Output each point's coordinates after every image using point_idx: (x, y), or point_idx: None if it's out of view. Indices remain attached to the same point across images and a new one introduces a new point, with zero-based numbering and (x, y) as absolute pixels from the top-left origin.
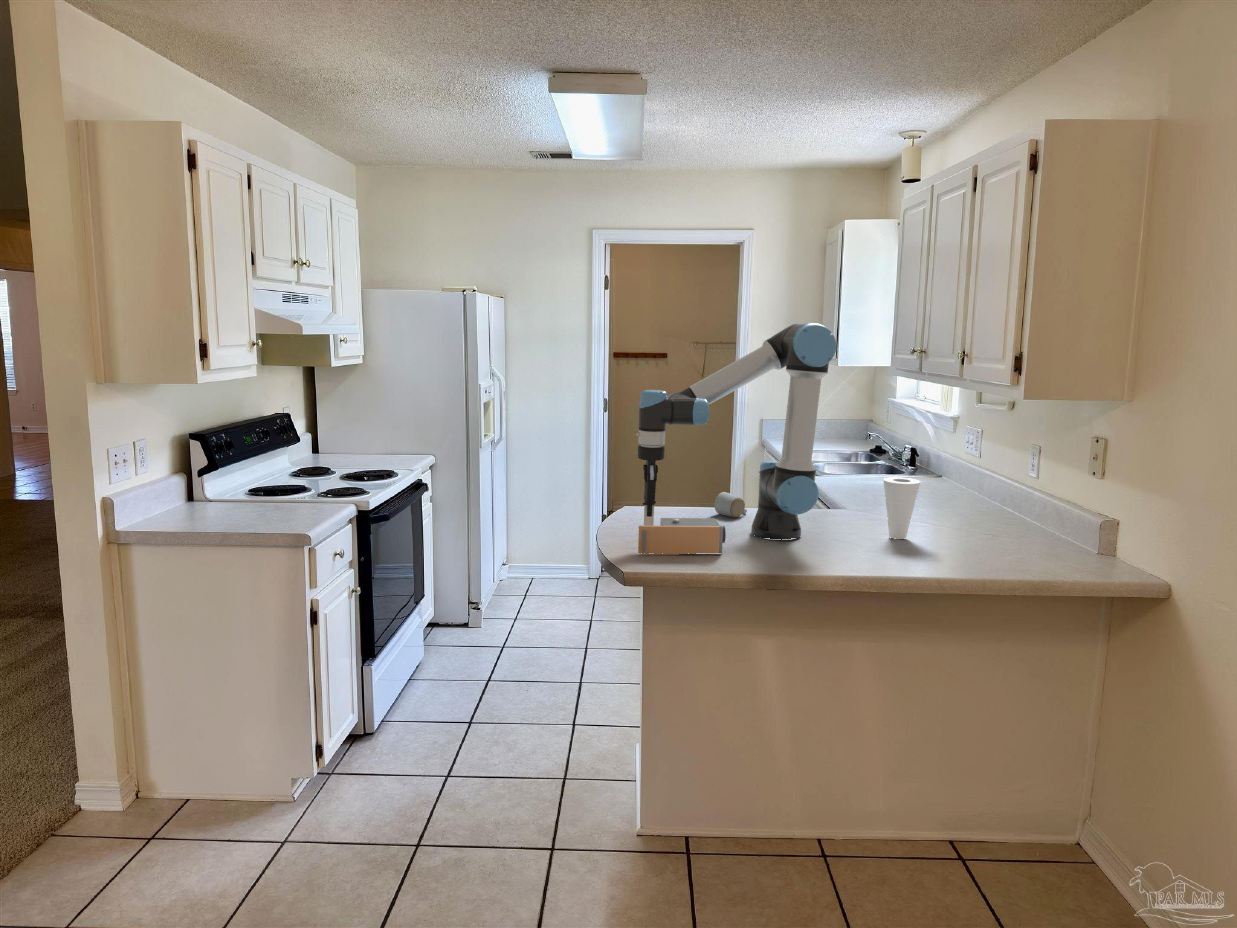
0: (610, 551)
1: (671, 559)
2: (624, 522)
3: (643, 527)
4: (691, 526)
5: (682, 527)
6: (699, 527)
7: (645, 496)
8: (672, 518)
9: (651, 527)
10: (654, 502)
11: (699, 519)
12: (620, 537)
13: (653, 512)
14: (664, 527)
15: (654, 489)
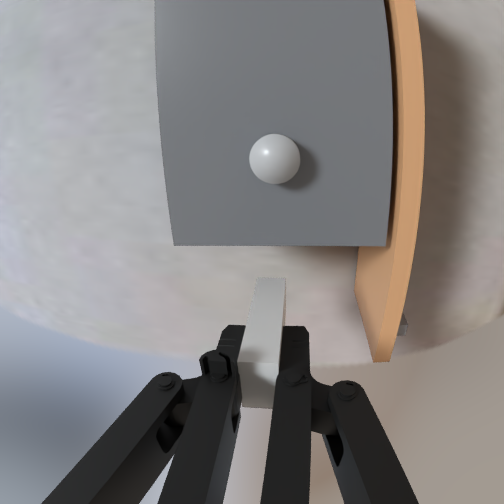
0: (312, 360)
1: (424, 177)
2: (16, 291)
3: (393, 341)
4: (414, 76)
5: (423, 136)
6: (417, 32)
7: (233, 444)
8: (176, 174)
9: (401, 309)
10: (366, 395)
11: (188, 7)
12: (146, 323)
13: (281, 329)
14: (414, 244)
15: (411, 496)
